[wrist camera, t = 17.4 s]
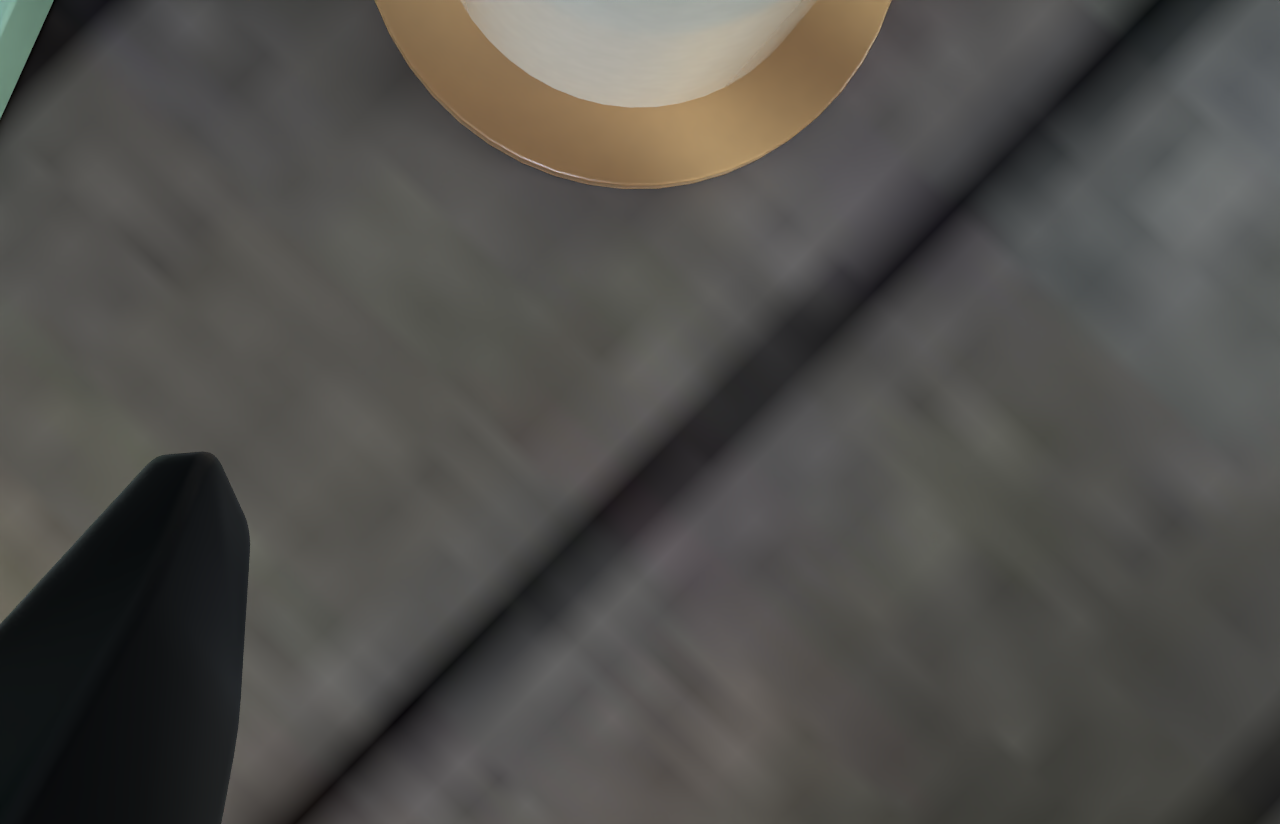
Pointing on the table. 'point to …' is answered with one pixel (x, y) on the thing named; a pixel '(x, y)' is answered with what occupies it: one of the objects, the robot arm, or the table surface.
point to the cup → (637, 43)
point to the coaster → (641, 136)
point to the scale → (17, 39)
